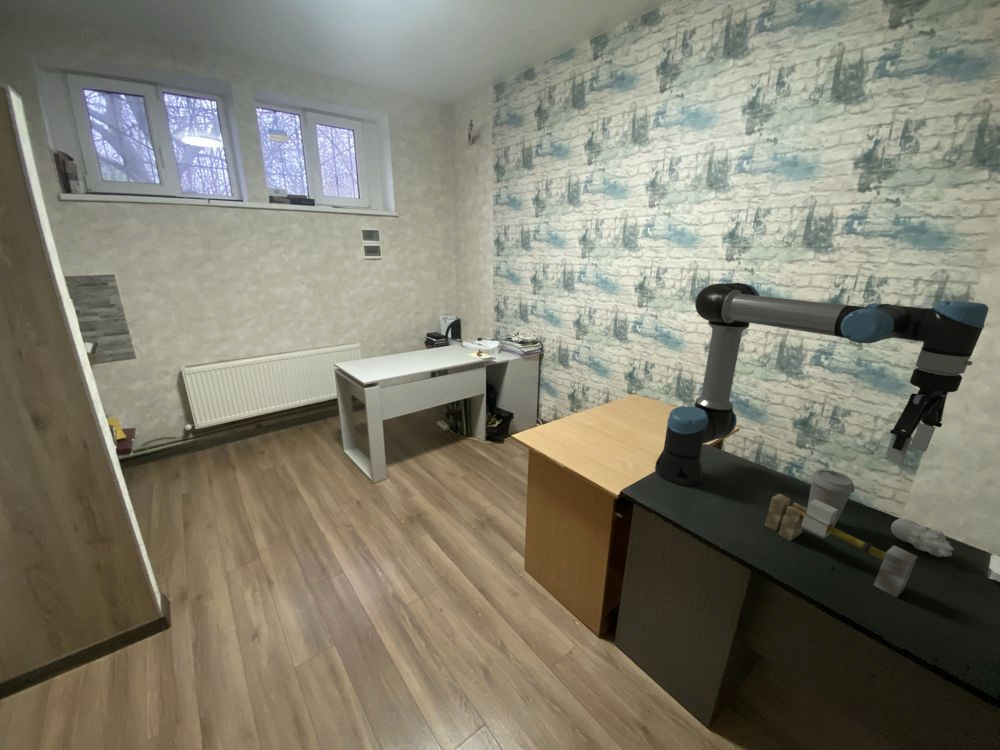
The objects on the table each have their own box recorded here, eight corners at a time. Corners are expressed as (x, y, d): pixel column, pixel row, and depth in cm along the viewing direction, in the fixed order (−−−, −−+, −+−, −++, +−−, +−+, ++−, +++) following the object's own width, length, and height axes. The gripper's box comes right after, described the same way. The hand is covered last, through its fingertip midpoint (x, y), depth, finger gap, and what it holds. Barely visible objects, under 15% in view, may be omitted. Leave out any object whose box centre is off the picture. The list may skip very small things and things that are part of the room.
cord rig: (762, 525, 110) (770, 496, 107) (773, 519, 113) (781, 490, 110) (895, 599, 87) (909, 565, 84) (904, 588, 90) (918, 555, 87)
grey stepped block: (800, 526, 102) (808, 502, 100) (808, 521, 104) (815, 498, 102) (823, 538, 98) (831, 513, 96) (830, 533, 100) (838, 508, 98)
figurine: (902, 521, 109) (964, 547, 98) (889, 539, 108) (949, 568, 98) (896, 509, 106) (959, 535, 95) (882, 529, 106) (944, 557, 95)
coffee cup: (849, 535, 106) (865, 488, 102) (810, 530, 108) (824, 484, 104) (828, 514, 115) (842, 469, 111) (792, 509, 117) (805, 465, 113)
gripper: (940, 383, 78) (905, 474, 85) (982, 369, 89) (948, 451, 96) (892, 373, 85) (862, 458, 91) (936, 361, 96) (907, 438, 102)
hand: (906, 455), depth 94 cm, fingers open, 13 cm apart
